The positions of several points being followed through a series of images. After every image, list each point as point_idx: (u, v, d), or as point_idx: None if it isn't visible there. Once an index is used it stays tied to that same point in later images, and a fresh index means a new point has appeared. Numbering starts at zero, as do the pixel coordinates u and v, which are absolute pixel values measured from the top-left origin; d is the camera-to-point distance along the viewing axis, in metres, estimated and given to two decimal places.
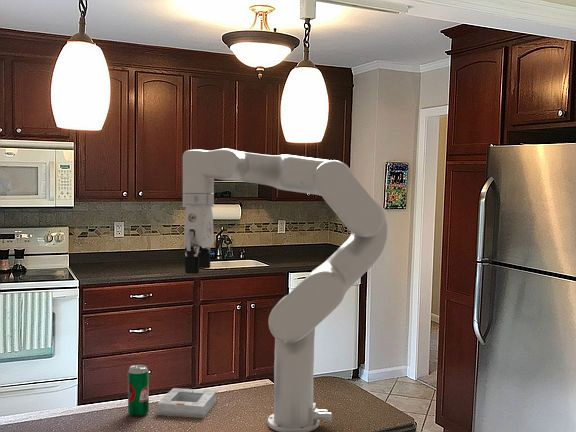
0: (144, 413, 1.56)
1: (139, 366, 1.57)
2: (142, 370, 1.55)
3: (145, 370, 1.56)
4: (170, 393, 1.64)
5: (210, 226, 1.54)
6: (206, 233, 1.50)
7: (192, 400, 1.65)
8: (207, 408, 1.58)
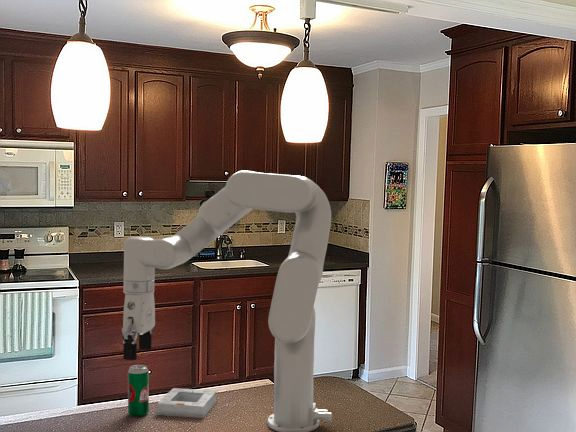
0: (144, 413, 1.56)
1: (139, 366, 1.57)
2: (142, 370, 1.55)
3: (145, 370, 1.56)
4: (170, 393, 1.64)
5: (150, 311, 1.57)
6: (145, 319, 1.53)
7: (192, 400, 1.65)
8: (207, 408, 1.58)
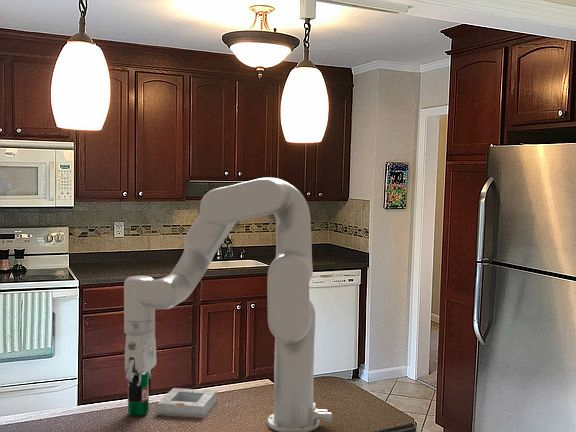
0: (144, 413, 1.56)
1: None
2: None
3: None
4: (170, 393, 1.64)
5: (152, 350, 1.57)
6: (146, 359, 1.54)
7: (192, 400, 1.65)
8: (207, 408, 1.58)
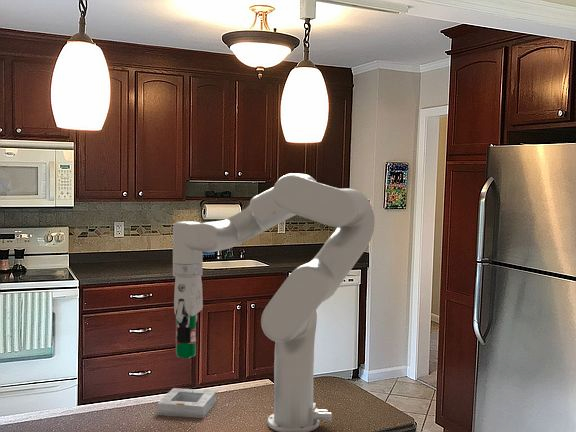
0: (192, 354, 1.60)
1: None
2: None
3: None
4: (170, 393, 1.64)
5: (199, 293, 1.61)
6: (195, 301, 1.58)
7: (192, 400, 1.65)
8: (207, 408, 1.58)
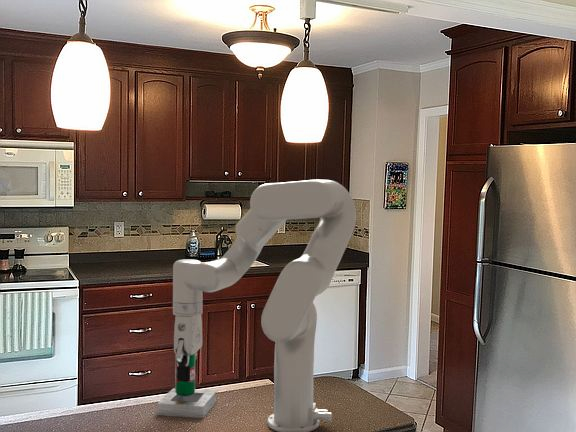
0: (191, 392, 1.60)
1: None
2: None
3: None
4: (170, 393, 1.64)
5: (199, 331, 1.62)
6: (195, 340, 1.58)
7: (192, 400, 1.65)
8: (207, 408, 1.58)
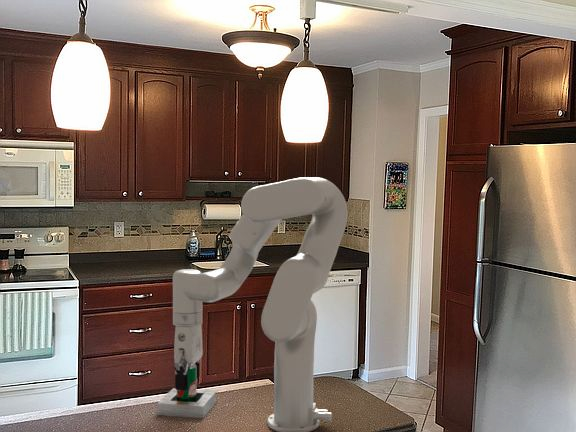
0: None
1: None
2: (191, 365, 1.60)
3: (194, 365, 1.60)
4: (170, 393, 1.64)
5: (199, 341, 1.62)
6: (195, 350, 1.58)
7: None
8: (207, 408, 1.58)
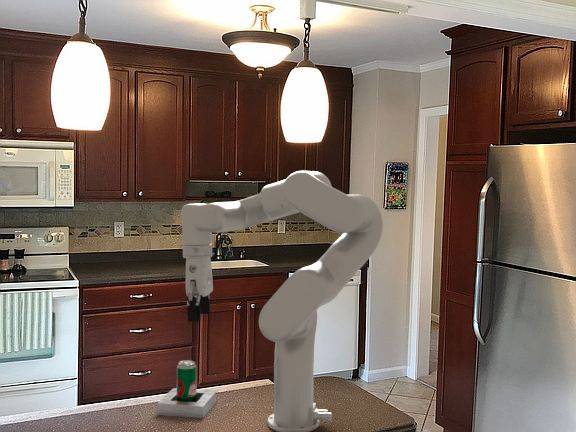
0: None
1: (187, 362, 1.62)
2: (191, 365, 1.60)
3: (193, 365, 1.60)
4: (170, 393, 1.64)
5: (209, 275, 1.62)
6: (206, 282, 1.59)
7: None
8: (207, 408, 1.58)
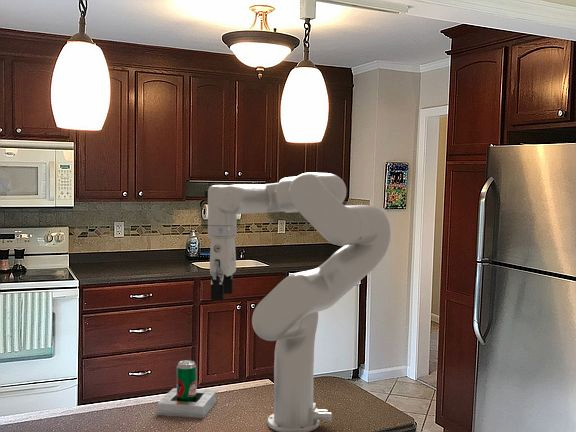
0: None
1: (187, 362, 1.62)
2: (191, 365, 1.60)
3: (193, 365, 1.60)
4: (170, 393, 1.64)
5: (233, 255, 1.65)
6: (230, 262, 1.62)
7: None
8: (207, 408, 1.58)
